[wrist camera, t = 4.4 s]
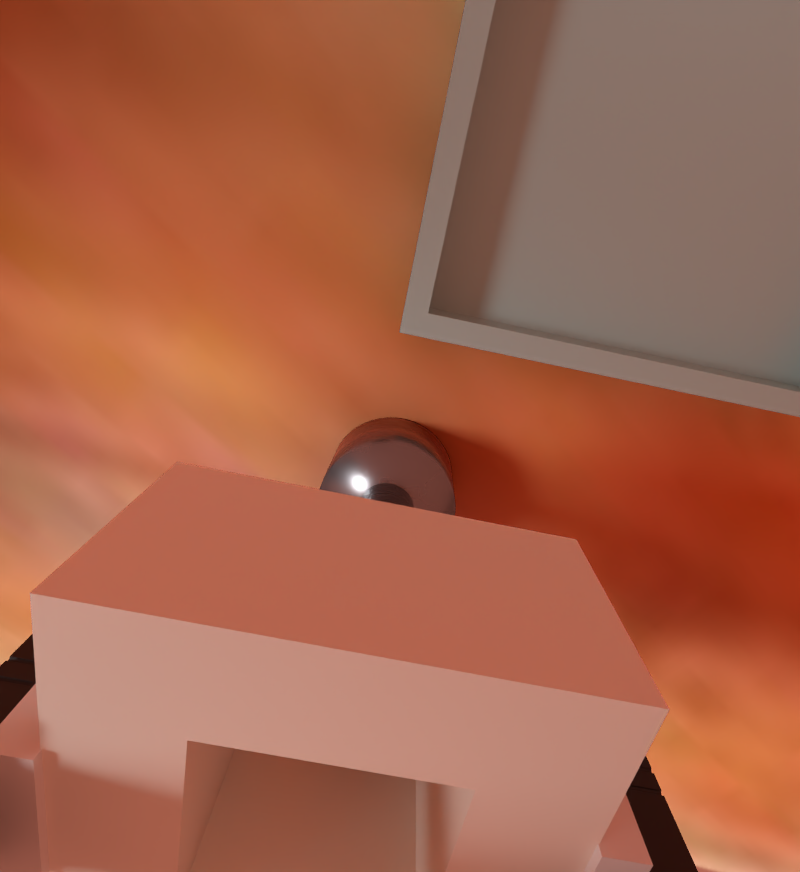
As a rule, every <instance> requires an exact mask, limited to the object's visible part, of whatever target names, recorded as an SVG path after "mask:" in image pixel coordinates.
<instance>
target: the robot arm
mask: <svg viewBox="0 0 800 872" xmlns="http://www.w3.org/2000/svg"><path fill="white" fill-rule="evenodd" d="M49 871H50V868H49V852H48V837H47V822H46V806H45V791H44V776H43V761H42V749H40V736H39V721H38V706H37V691H36V676H35V661H34V646H33V634H32V635H31V636H30V637H29V638H28V639H27V640H26V641H25V642H24V643H23V644H22V645H21V646H20V647H19V648H18V649H17V650H16V651H15V652H14V653H13V654H12V655H11V656H10V659H9V660H8V661H5V662H4V663H3V664H2V665H1V666H0V872H49ZM584 872H698V871H697V869H696V866H695V864H694V862H693V860H692V857H691V855H690V853H689V851H688V849H687V846H686V844H685V842H684V840H683V837H682V835H681V833H680V831H679V829H678V826H677V824H676V822H675V820H674V817H673V815H672V813H671V811H670V808H669V806H668V804H667V802H666V800H665V797H664V796H662V795H661V788H660V786H659V784H658V782H657V780H656V777H655V775H654V774H653V773H652V772H651V766H650V764H649V762H648V760H647V757H646V756H645V757H644V759H643V761H642V763H641V765H640V767H639V769H638V771H637V773H636V775H635V777H634V779H633V781H632V782H631V784H630V786H629V788H628V790H627V792H626V794H625V796H624V798H623V800H622V802H621V804H620V805H619V807H618V809H617V811H616V813H615V815H614V817H613V819H612V821H611V823H610V825H609V827H608V828H607V830H606V832H605V834H604V836H603V838H602V840H601V842H600V844H598V845H597V847H596V849H595V850H594V852H593V854H592V856H591V858H590V860H589V862H588V864H587V866H586V868H585V870H584Z"/></svg>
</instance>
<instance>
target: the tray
mask: <svg viewBox="0 0 800 872" xmlns="http://www.w3.org/2000/svg"><path fill="white" fill-rule="evenodd" d="M400 333H405V334H409V335H414V336H419V337H423V338H428V339H433V340H438V341H442V342H447V343H452V344H457V345H461V346H466V347H471V348H475V349H480V350H485V351H490V352H494V353H499V354H504V355H509V356H513V357H518V358H523V359H527V360H532V361H537V362H542V363H546V364H551V365H556V366H561V367H565V368H570V369H575V370H580V371H584V372H589V373H594V374H598V375H603V376H608V377H613V378H617V379H622V380H627V381H632V382H636V383H641V384H646V385H650V386H655V387H660V388H665V389H669V390H674V391H679V392H684V393H688V394H693V395H698V396H702V397H707V398H712V399H717V400H721V401H726V402H731V403H736V404H740V405H745V406H750V407H754V408H759V409H764V410H769V411H773V412H778V413H783V414H788V415H792V416H797V417H800V0H466V1H465V6H464V11H463V16H462V21H461V26H460V31H459V36H458V41H457V46H456V51H455V56H454V61H453V66H452V71H451V76H450V81H449V86H448V91H447V96H446V101H445V106H444V111H443V116H442V121H441V126H440V131H439V136H438V141H437V146H436V151H435V156H434V161H433V166H432V171H431V176H430V181H429V186H428V191H427V196H426V201H425V206H424V211H423V216H422V221H421V226H420V231H419V236H418V241H417V246H416V251H415V256H414V261H413V266H412V271H411V276H410V281H409V286H408V291H407V297H406V302H405V307H404V312H403V317H402V322H401V327H400Z"/></svg>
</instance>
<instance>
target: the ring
mask: <svg viewBox="0 0 800 872" xmlns="http://www.w3.org/2000/svg"><path fill="white" fill-rule="evenodd" d="M30 601H31V616H32V631H33V646H34V661H35V676H36V691H37V706H38V721H39V736H40V749H42V761H43V776H44V791H45V806H46V822H47V837H48V852H49V868H50V871H49V872H584V870H585V868H586V866H587V864H588V862H589V860H590V858H591V856H592V854H593V852H594V850H595V849H596V847H597V845H598V844H600V842H601V840H602V838H603V836H604V834H605V832H606V830H607V828H608V827H609V825H610V823H611V821H612V819H613V817H614V815H615V813H616V811H617V809H618V807H619V805H620V804H621V802H622V800H623V798H624V796H625V794H626V792H627V790H628V788H629V786H630V784H631V782H632V781H633V779H634V777H635V775H636V773H637V771H638V769H639V767H640V765H641V763H642V761H643V759H644V757H645V756H646V754H647V752H648V750H649V748H650V746H651V744H652V742H653V740H654V738H655V736H656V734H657V733H658V731H659V729H660V727H661V725H662V723H663V721H664V719H665V717H666V715H667V713H668V711H669V708H668V706H667V704H666V702H665V701H664V699H663V697H662V695H661V693H660V691H659V690H658V688H657V686H656V684H655V682H654V680H653V679H652V677H651V675H650V673H649V671H648V669H647V668H646V666H645V664H644V662H643V660H642V658H641V657H640V655H639V653H638V651H637V649H636V648H635V646H634V644H633V642H632V640H631V638H630V637H629V635H628V633H627V631H626V629H625V627H624V626H623V624H622V622H621V620H620V618H619V616H618V615H617V613H616V611H615V609H614V607H613V605H612V604H611V602H610V600H609V598H608V596H607V595H606V593H605V591H604V589H603V587H602V585H601V584H600V582H599V580H598V578H597V576H596V574H595V573H594V571H593V569H592V567H591V565H590V563H589V562H588V560H587V558H586V556H585V554H584V552H583V551H582V549H581V547H580V545H579V543H578V541H577V540H576V539H572V538H567V537H562V536H557V535H552V534H546V533H541V532H536V531H531V530H526V529H521V528H516V527H510V526H505V525H500V524H495V523H490V522H485V521H480V520H475V519H469V518H464V517H459V516H454V515H449V514H444V513H439V512H433V511H428V510H423V509H418V508H413V507H408V506H403V505H397V504H392V503H387V502H382V501H377V500H372V499H367V498H361V497H356V496H351V495H346V494H341V493H336V492H331V491H325V490H320V489H315V488H310V487H305V486H300V485H295V484H290V483H284V482H279V481H274V480H269V479H264V478H259V477H254V476H248V475H243V474H238V473H233V472H228V471H223V470H218V469H212V468H207V467H202V466H197V465H192V464H187V463H182V462H176V463H175V464H174V465H173V466H172V467H171V468H170V469H169V470H167V471H166V472H165V473H164V474H163V475H162V476H161V477H160V478H158V479H157V480H156V481H155V482H154V483H153V484H152V485H151V486H149V487H148V488H147V489H146V490H145V491H144V492H143V493H142V494H141V495H139V496H138V497H137V498H136V499H135V500H134V501H133V502H132V503H130V504H129V505H128V506H127V507H126V508H125V509H124V510H123V511H121V512H120V513H119V514H118V515H117V516H116V517H115V518H114V519H112V520H111V521H110V522H109V523H108V524H107V525H106V526H105V527H104V528H102V529H101V530H100V531H99V532H98V533H97V534H96V535H95V536H93V537H92V538H91V539H90V540H89V541H88V542H87V543H86V544H84V545H83V546H82V547H81V548H80V549H79V550H78V551H77V552H75V553H74V554H73V555H72V556H71V557H70V558H69V559H68V560H67V561H65V562H64V563H63V564H62V565H61V566H60V567H59V568H58V569H56V570H55V571H54V572H53V573H52V574H51V575H50V576H49V577H47V578H46V579H45V580H44V581H43V582H42V583H41V584H40V585H38V586H37V587H36V588H35V589H34V590H33V591H32V592H31V593H30Z"/></svg>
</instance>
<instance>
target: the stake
mask: <svg viewBox="0 0 800 872" xmlns="http://www.w3.org/2000/svg"><path fill="white" fill-rule="evenodd" d="M320 490H325V491H331V492H336V493H341V494H346V495H351V496H356V497H361V498H367V499H372V500H377V501H382V502H387V503H392V504H397V505H403V506H408V507H413V508H418V509H423V510H428V511H433V512H439V513H444V514H449V515H454V516H455V507H456V506H455V496H454V488H453V479H452V471H451V464H450V460H449V457H448V454H447V452H446V450H445V448H444V446H443V445H442V443H441V442H440V441H439V439H438V438H437V437H436V436H435V435H434V434H433V433H432V432H430V431H429V430H428V429H426V428H425V427H423V426H421V425H420V424H417V423H415V422H413V421H409V420H406V419H401V418H379V419H375V420H371V421H369V422H366V423H364V424H362V425H360V426H358V427H356V428H355V429H354V430H352V431H351V432H350V433H349V434H348V435H347V436H346V437H345V438H344V439H343V441H342V442H341V443H340V445H339V447H338V449H337V451H336V453H335V455H334V457H333V459H332V462H331V464H330V466H329V468H328V470H327V473H326V475H325V477H324V479H323V482H322V484H321V487H320Z"/></svg>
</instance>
